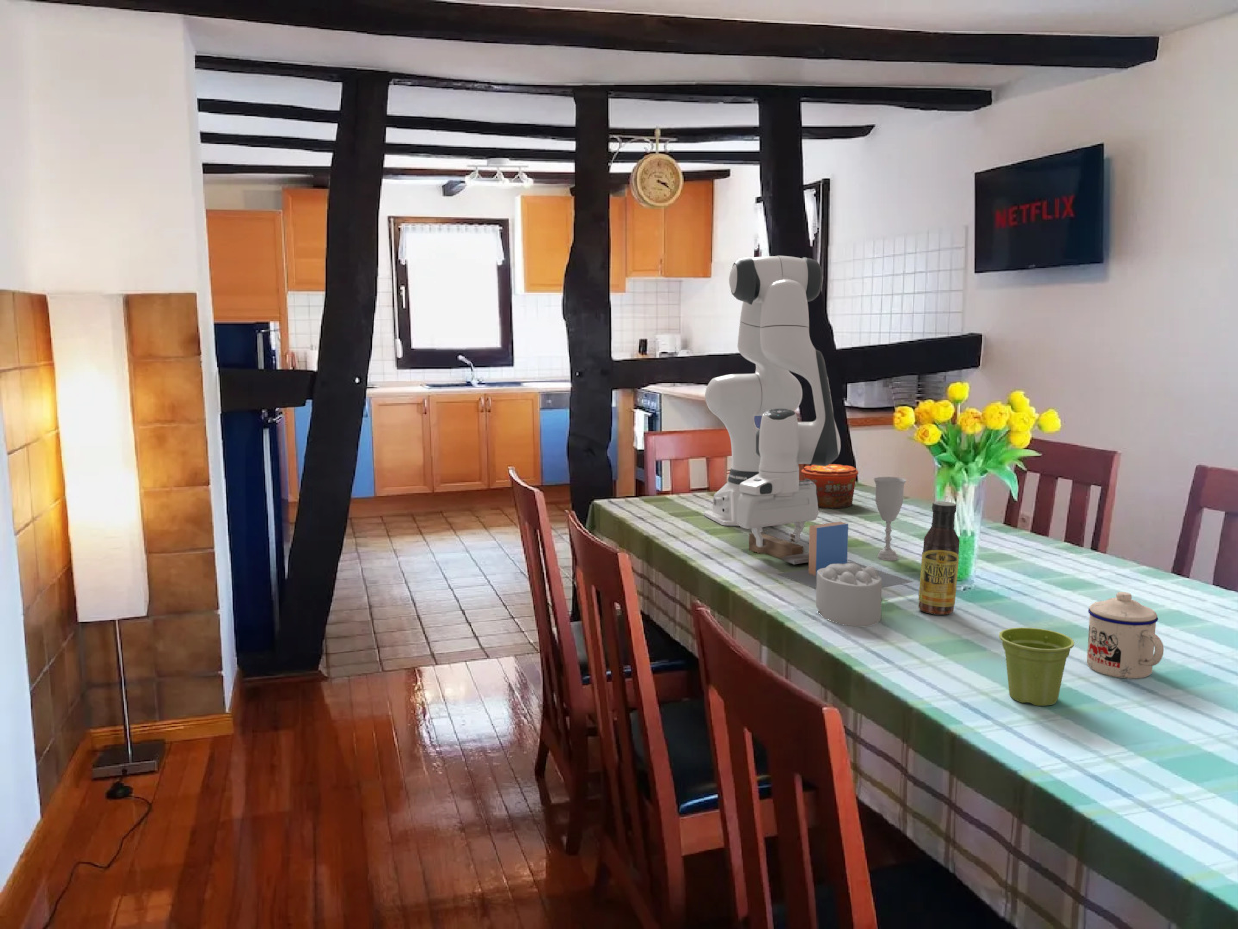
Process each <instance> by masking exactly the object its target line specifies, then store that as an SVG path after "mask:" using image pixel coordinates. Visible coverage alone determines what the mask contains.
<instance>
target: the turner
mask: <svg viewBox="0 0 1238 929" xmlns="http://www.w3.org/2000/svg"><path fill="white" fill-rule="evenodd" d="M760 533H761V535H762V537H763V538H765V539H766V546H764V547H758V546H756V538H755V536H754V534H753V533H752V532H750V533H748V550H749V551H751V552H753V553H756V552H757V554H759V555H760V554H767V555H769V556H772V557H775V558H778V559H781V560H782V561H784V562H787V563H788V564H792V565H798V564H804V563H805V564H806V563H809V552H805V553H804V546H803V545H800V544H797V543H796V542H791V541H788V540H786V539H782V538H778V537H776V536H773V535H769V534H766V533H763V532H760Z"/></svg>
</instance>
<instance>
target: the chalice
mask: <svg viewBox="0 0 1238 929" xmlns="http://www.w3.org/2000/svg"><path fill="white" fill-rule="evenodd" d="M873 481H874V483H875V499H874V501H875V504H876V508H877V511H878V513H879V515H880V518H881V520H882V521H884V522H885V525H886V527H885V529H884V531H885V534H886V535H885V537H883V539H884V541H885V545H884V548H882V549H880V550H879V551H878V554H877V557H876V558H877V559H878V560H881V561H882V560H883V561H896V560H899V558H898V557H899V556H898V555H897V552H896V550H895V549H892V547H891V541H892V540H893V538H892V537H891V533H892V531H893V530H892V527H891V526H892V525H891V524H892V522H894V521H896V519H897V517H898V515H899V513H900V512H901V509H902V506H903V504H904V487H905V484H906V482H907V479H906V478H903V477H896V476H877V477H874V478H873Z"/></svg>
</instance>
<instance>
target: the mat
mask: <svg viewBox="0 0 1238 929" xmlns="http://www.w3.org/2000/svg"><path fill="white" fill-rule="evenodd" d="M847 563H855V564H857V565H859V566H860V567H861V568H866V567H868V566H866V565H863V564H861V563H856V562H854V561H849V562H848V561H847ZM876 570H877V573H878V576H879V577H880V578H881V579H882V588H887V587H892V586H897V585H903V584H908V583H909V584H910V583H913V582H914V581H913V580H910V579H906V578H903V577H901V576H897V575H895V574H892V573H887V572H884V571H882V570H878V569H876ZM777 575H779V576H781V577H783V578H786V579H789V580H791V581H794V582H796V583H799V584H802V585H805V586H807V587H809V588H813V589H815V590H816V586H817V576H815V575H812V574H810V573H809V568H806V569H799V570H794V571H792V570H791V571H787V572H781V573H777Z"/></svg>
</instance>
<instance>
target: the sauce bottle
mask: <svg viewBox="0 0 1238 929" xmlns="http://www.w3.org/2000/svg"><path fill="white" fill-rule="evenodd" d="M931 511H932V521H931V526H930V528H929V530H928V531H927V533H925V535H924V537H923V549H922V553H921V561H920V562H921V563H920V575H919V576H920V577H919V578H920V579H919V588H918V589H919V590H918V601H919V602H918V609H919V611H922V612H924V613H927V614H930V615H935V616H937V615H938V616H940V615H941V616H944V615H945V616H947V614H948V615H951V614H952V613H953V612H954V609H955V604H956V593H957V584H958V582H957V581H958V572H959V562H960V561H959V558H960V554H959V553H960V537H959V536H958V534H957V533H956V531H955V519H956V518H955V517H956V516H955V515H956V513H957V504H956V503H954V502H949V501H933V502H932V507H931Z"/></svg>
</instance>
